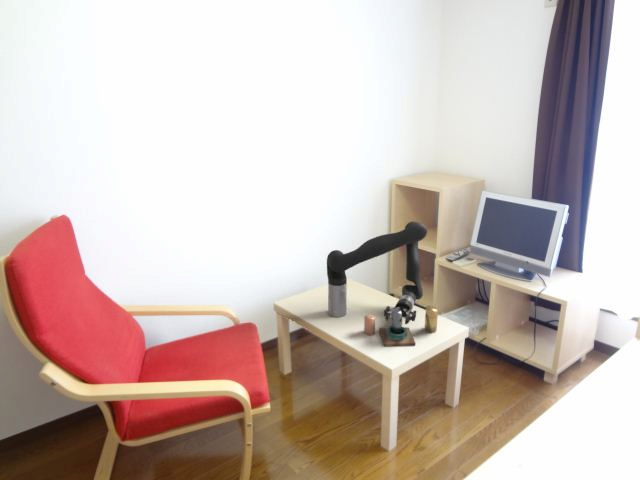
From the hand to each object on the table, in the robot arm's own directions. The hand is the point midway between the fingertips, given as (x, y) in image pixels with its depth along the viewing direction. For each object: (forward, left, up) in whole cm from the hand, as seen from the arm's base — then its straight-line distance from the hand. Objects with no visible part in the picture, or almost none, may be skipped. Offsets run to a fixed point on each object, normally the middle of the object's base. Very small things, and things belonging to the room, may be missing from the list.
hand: (396, 320), depth 202 cm
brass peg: (+18, +8, -10) cm, 22 cm away
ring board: (+1, +2, -10) cm, 10 cm away
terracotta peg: (-11, +7, -10) cm, 16 cm away
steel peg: (+1, +2, -8) cm, 9 cm away
